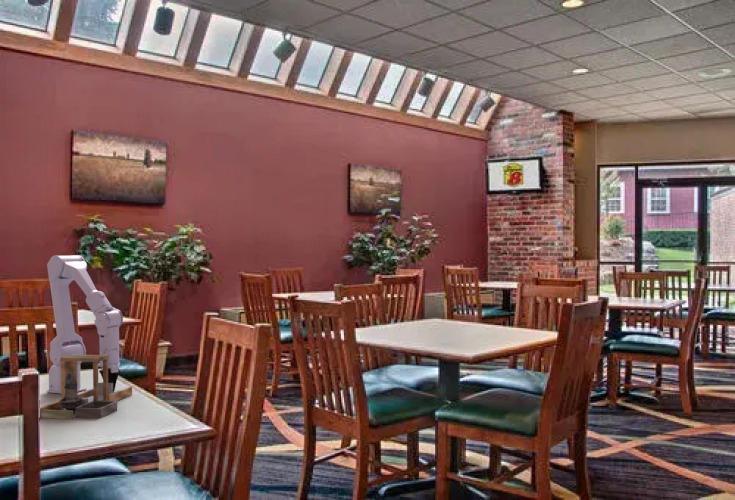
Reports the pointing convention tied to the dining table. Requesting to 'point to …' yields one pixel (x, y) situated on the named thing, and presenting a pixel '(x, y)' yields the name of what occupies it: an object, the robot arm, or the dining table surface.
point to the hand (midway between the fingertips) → (110, 392)
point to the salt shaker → (70, 393)
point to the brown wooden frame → (94, 407)
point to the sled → (100, 386)
